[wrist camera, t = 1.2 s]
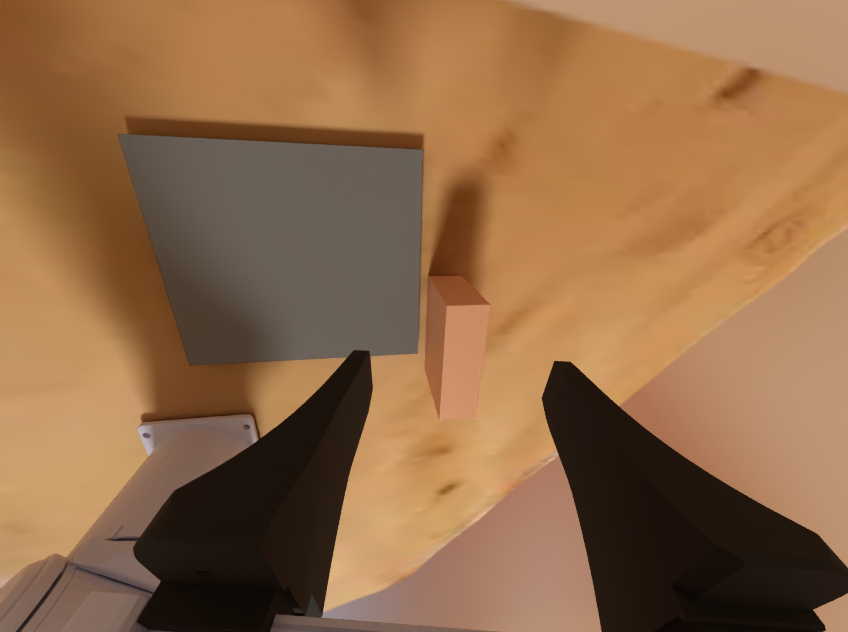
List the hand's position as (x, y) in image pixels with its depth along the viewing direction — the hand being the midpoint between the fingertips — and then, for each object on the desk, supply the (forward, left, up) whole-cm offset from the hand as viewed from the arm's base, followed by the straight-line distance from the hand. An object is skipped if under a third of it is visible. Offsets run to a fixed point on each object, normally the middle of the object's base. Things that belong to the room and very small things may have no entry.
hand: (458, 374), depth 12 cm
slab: (-3, -2, -11) cm, 12 cm away
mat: (+2, +8, -11) cm, 14 cm away
